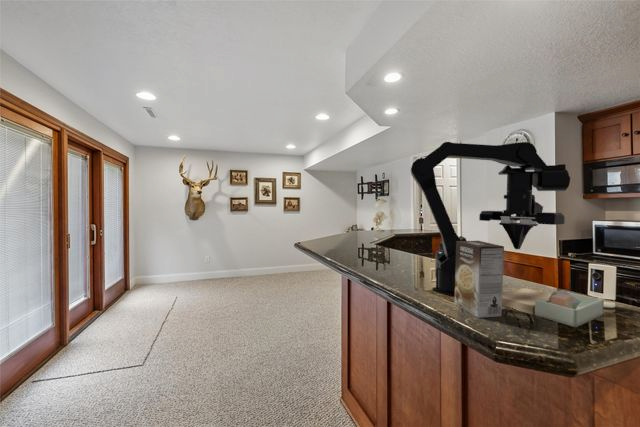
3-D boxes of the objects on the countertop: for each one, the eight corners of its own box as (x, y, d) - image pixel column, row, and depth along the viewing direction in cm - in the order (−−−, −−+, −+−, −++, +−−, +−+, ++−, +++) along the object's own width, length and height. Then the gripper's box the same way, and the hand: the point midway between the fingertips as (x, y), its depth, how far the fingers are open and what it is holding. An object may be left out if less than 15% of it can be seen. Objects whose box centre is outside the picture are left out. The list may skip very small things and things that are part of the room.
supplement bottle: (459, 281, 97) (460, 244, 96) (437, 280, 98) (437, 244, 98) (454, 276, 103) (455, 241, 103) (433, 275, 105) (434, 241, 104)
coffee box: (452, 304, 75) (454, 240, 75) (475, 303, 76) (477, 240, 76) (477, 318, 66) (479, 246, 66) (503, 316, 67) (505, 245, 67)
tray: (534, 315, 68) (535, 300, 68) (563, 304, 75) (563, 291, 75) (576, 327, 62) (576, 310, 62) (603, 314, 69) (603, 299, 68)
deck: (493, 303, 76) (493, 295, 76) (522, 294, 83) (522, 287, 83) (532, 314, 69) (533, 306, 68) (561, 304, 76) (561, 296, 75)
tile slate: (548, 299, 72) (553, 291, 71) (558, 297, 74) (563, 289, 73) (565, 311, 69) (570, 303, 68) (575, 309, 71) (581, 301, 70)
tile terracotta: (551, 296, 68) (565, 299, 66) (559, 293, 70) (572, 296, 68) (551, 313, 68) (564, 317, 66) (558, 310, 70) (571, 313, 68)
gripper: (575, 190, 76) (573, 251, 77) (500, 192, 93) (499, 243, 93) (554, 189, 71) (552, 255, 71) (478, 191, 87) (477, 245, 88)
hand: (517, 249), depth 81 cm, fingers closed
